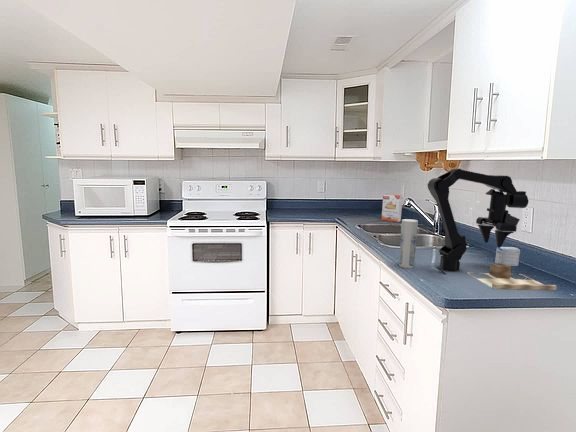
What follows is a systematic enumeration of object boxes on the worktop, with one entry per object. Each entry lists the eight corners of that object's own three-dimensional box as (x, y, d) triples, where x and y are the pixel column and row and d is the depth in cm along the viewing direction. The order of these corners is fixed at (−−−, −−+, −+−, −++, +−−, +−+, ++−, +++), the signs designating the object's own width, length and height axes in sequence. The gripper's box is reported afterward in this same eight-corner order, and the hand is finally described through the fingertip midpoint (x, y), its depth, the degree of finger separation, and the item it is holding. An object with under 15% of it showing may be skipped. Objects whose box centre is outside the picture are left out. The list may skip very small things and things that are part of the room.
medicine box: (511, 265, 163) (513, 246, 162) (518, 268, 158) (520, 249, 157) (494, 265, 162) (496, 246, 161) (500, 268, 158) (502, 248, 157)
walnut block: (496, 278, 139) (498, 266, 139) (489, 274, 144) (490, 263, 144) (509, 278, 139) (511, 267, 139) (502, 274, 144) (503, 263, 144)
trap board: (493, 291, 127) (493, 284, 126) (466, 275, 146) (466, 269, 145) (555, 293, 127) (556, 285, 127) (520, 276, 146) (521, 270, 146)
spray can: (400, 263, 161) (403, 218, 159) (415, 265, 158) (419, 220, 156) (397, 266, 156) (400, 220, 153) (412, 269, 153) (416, 221, 150)
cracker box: (381, 220, 293) (382, 194, 290) (384, 219, 298) (386, 193, 295) (397, 222, 284) (399, 195, 281) (401, 221, 289) (402, 195, 286)
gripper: (533, 210, 137) (527, 251, 140) (503, 205, 156) (498, 241, 158) (504, 209, 137) (498, 249, 139) (477, 203, 156) (473, 239, 158)
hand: (492, 244), depth 149 cm, fingers open, 9 cm apart
